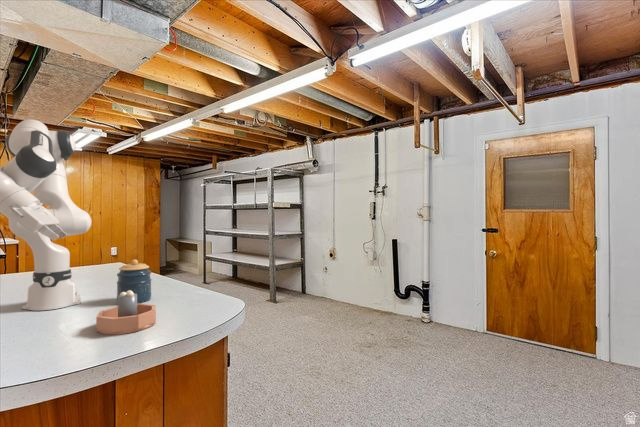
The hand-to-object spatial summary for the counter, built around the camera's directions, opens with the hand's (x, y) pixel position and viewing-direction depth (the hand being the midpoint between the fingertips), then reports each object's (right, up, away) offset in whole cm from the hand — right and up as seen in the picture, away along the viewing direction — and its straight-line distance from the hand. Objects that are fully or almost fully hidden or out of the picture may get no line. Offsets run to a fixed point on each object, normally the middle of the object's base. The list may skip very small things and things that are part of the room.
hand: (61, 237), depth 103 cm
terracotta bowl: (+18, -29, +5) cm, 35 cm away
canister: (+2, -30, +38) cm, 48 cm away
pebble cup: (+18, -28, +5) cm, 34 cm away
